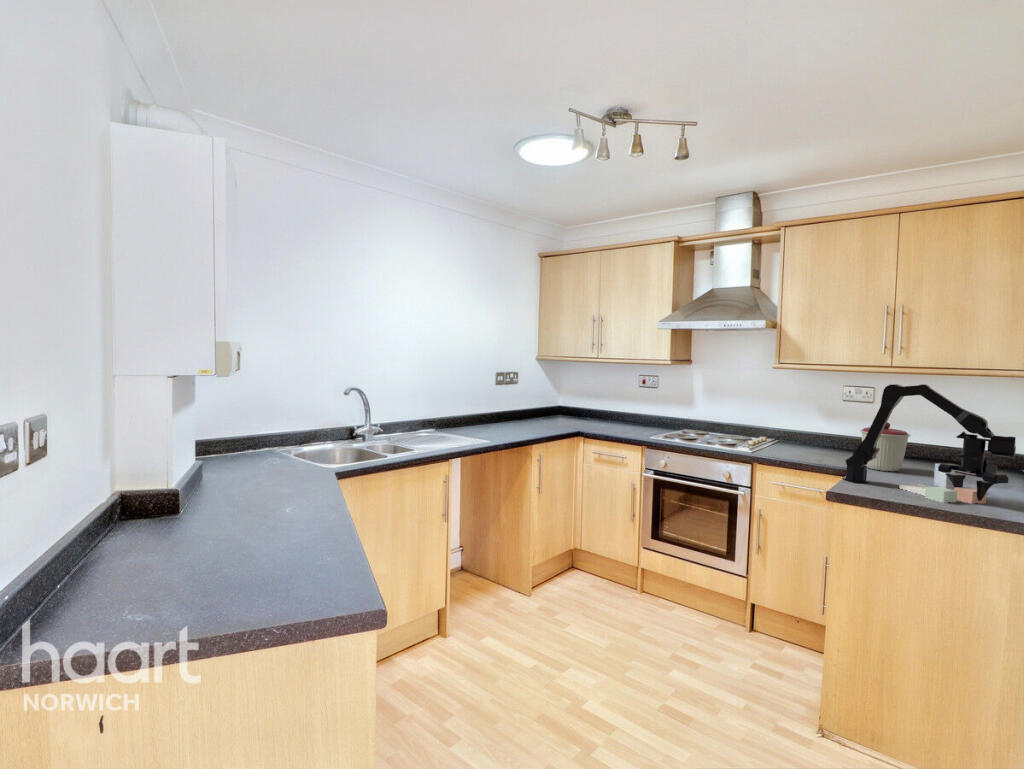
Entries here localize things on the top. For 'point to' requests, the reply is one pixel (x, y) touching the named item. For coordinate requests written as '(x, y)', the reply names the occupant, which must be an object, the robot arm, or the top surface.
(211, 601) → the top surface
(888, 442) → the canister
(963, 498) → the bottom brick
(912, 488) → the base plate
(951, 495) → the pale green block
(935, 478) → the medicine box
